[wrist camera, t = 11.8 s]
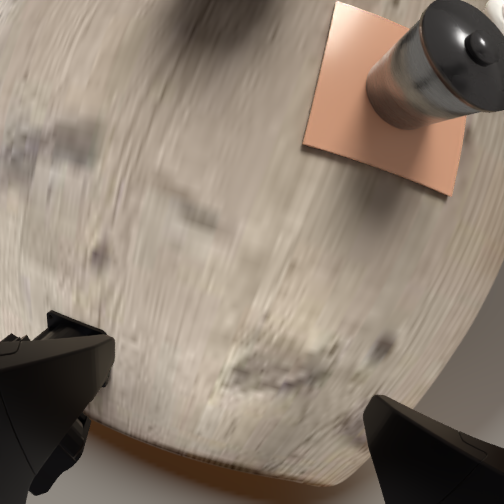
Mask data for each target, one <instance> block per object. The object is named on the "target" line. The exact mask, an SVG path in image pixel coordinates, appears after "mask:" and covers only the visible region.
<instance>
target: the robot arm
mask: <svg viewBox="0 0 504 504" xmlns="http://www.w3.org/2000/svg"><path fill="white" fill-rule="evenodd" d="M51 315H52V316H51ZM47 324H48V328H47V329H46V330H45V331H43V332H42V333H41V334H40V335H38V336H37V337H36V338H35V339H34V340H33V341H30V339H29V338H28V336H27V335H25V336H24V337H22V338H20V337H16V336H15V335H13V334H12V333H11V334H10V335H8V336H7V337H6V338H4V339H3V340H2V341H1V342H0V504H26V498H27V494H28V491H30V492H31V493H32V494H33V495H35V496H37V495H40V494H43V493H46V492H48V491H49V489H50V488H51V486H52V485H53V483H54V482H55V481H56V479H57V478H58V477H59V476H60V475H61V474H62V473H63V472H64V471H66V470H68V469H69V468H71V467H72V466H73V465H74V464H75V463H76V462H77V461H78V460H79V458H80V457H81V455H82V452H83V449H84V446H85V442H86V438H87V435H88V431H89V427H90V423H91V420H90V419H89V418H88V417H87V416H85V415H84V414H83V410H84V409H85V408H86V406H87V405H88V404H89V402H91V401H92V400H93V399H94V397H95V396H96V394H97V393H98V391H99V390H100V388H101V387H105V386H106V385H107V378H108V377H109V371H110V369H111V367H112V365H113V363H114V359H115V339H114V338H113V337H110V336H108V335H107V334H106V333H105V332H104V331H103V330H101V329H98V328H95V327H93V326H90V325H87V324H85V323H82V322H79V321H77V320H74V319H72V318H69V317H67V316H64V315H62V314H60V313H57V312H55V311H52V310H51V311H49V312H48V313H47ZM363 421H364V426H365V431H366V437H367V442H368V447H369V451H370V454H371V457H372V460H373V464H374V467H375V470H376V473H377V477H378V480H379V483H380V487H381V490H382V493H383V497H384V501H385V504H504V448H501V447H498V446H496V445H493V444H490V443H487V442H484V441H482V440H479V439H477V438H474V437H472V436H470V435H467V434H465V433H463V432H458V431H457V430H455V429H453V428H451V427H449V426H446V425H444V424H442V423H440V422H438V421H436V420H433V419H431V418H429V417H427V416H425V415H423V414H421V413H419V412H417V411H415V410H413V409H411V408H409V407H407V406H405V405H403V404H401V403H399V402H397V401H395V400H393V399H391V398H389V397H387V396H385V395H374V396H373V397H372V399H371V400H370V402H369V404H368V405H367V407H366V409H365V411H364V413H363Z"/></svg>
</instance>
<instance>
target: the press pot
mask: <svg viewBox="0 0 504 504" xmlns="http://www.w3.org/2000/svg"><path fill="white" fill-rule="evenodd" d="M366 92H367V96H368V99H369V102H370V104H371V106H372V107H373V109H374V111H375V112H376V113H377V114H378V115H379V116H380V118H381V119H383V120H384V121H385V122H387V123H388V124H390V125H391V126H393V127H396V128H399V129H403V130H413V129H417V128H421V127H424V126H428V125H432V124H435V123H439V122H443V121H446V120H450V119H454V118H458V117H462V116H466V115H470V114H474V113H478V112H488V113H491V112H497V111H502V110H504V35H503V34H502V33H501V31H500V30H499V29H498V28H497V26H496V25H495V24H494V23H493V22H492V21H491V20H490V19H489V18H488V17H487V16H486V15H485V14H484V13H482V12H481V11H480V10H478V9H477V8H475V7H474V6H472V5H470V4H468V3H466V2H464V1H461V0H436V1H434V2H433V3H432V4H430V5H429V6H428V7H427V8H426V9H425V11H424V12H423V13H422V16H421V18H420V20H419V21H418V22H417V23H416V24H415V25H414V26H413V27H412V28H411V29H410V30H409V31H408V32H407V33H406V34H405V35H404V36H403V37H402V38H401V39H400V40H399V41H398V42H397V43H396V44H395V45H394V46H393V47H392V48H391V49H390V50H389V51H388V52H387V53H386V54H385V55H384V56H383V57H382V58H381V59H380V60H379V61H378V62H377V63H376V64H375V65H374V66H373V67H372V68H371V69H370V71H369V73H368V75H367V79H366Z"/></svg>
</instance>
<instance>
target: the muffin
mask: <svg viewBox="0 0 504 504" xmlns="http://www.w3.org/2000/svg"><path fill="white" fill-rule="evenodd" d="M483 13H484V14H485V15H486V16H487V17H488V18H489V19H490V20H491V21H492V22H493V23H494V24H495V25H496V26H497V28H498V29H499V30H500V31H501V33H502V34H503V35H504V0H489V1H488V2H487V3H486V5H485V9H483Z"/></svg>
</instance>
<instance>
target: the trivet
mask: <svg viewBox="0 0 504 504" xmlns="http://www.w3.org/2000/svg"><path fill="white" fill-rule="evenodd" d="M409 30H410V29H408V28H406V27H404V26H402V25H400V24H397V23H395V22H393V21H390V20H388V19H385V18H383V17H381V16H378V15H375V14H373V13H370V12H368V11H365V10H362V9H359V8H356V7H353V6H351V5H347V4H344V3H341V2H338V1H336V3H335V6H334V11H333V15H332V20H331V24H330V29H329V33H328V37H327V42H326V46H325V51H324V55H323V59H322V64H321V68H320V72H319V76H318V81H317V85H316V89H315V93H314V98H313V102H312V106H311V110H310V114H309V118H308V122H307V126H306V130H305V134H304V138H303V142H302V144H303V145H306V146H310V147H313V148H317V149H320V150H323V151H327V152H330V153H333V154H337V155H340V156H343V157H346V158H349V159H352V160H355V161H358V162H361V163H364V164H367V165H370V166H373V167H376V168H379V169H381V170H384V171H387V172H390V173H392V174H395V175H398V176H400V177H403V178H406V179H408V180H411V181H413V182H416V183H418V184H421V185H423V186H426V187H428V188H430V189H433V190H435V191H437V192H440V193H442V194H444V195H447V196H451V197H452V193H453V188H454V184H455V179H456V175H457V170H458V165H459V160H460V154H461V149H462V143H463V136H464V130H465V122H466V116H462V117H458V118H454V119H450V120H446V121H443V122H439V123H435V124H432V125H428V126H424V127H421V128H417V129H413V130H403V129H399V128H396V127H393V126H391V125H390V124H388V123H387V122H385V121H384V120H383V119H381V118H380V116H379V115H378V114H377V113H376V112H375V111H374V109H373V107H372V106H371V104H370V102H369V99H368V96H367V92H366V79H367V75H368V73H369V71H370V69H371V68H372V67H373V66H374V65H375V64H376V63H377V62H378V61H379V60H380V59H381V58H382V57H383V56H384V55H385V54H386V53H387V52H388V51H389V50H390V49H391V48H392V47H393V46H394V45H395V44H396V43H397V42H398V41H399V40H400V39H401V38H402V37H403V36H404V35H405V34H406V33H407V32H408V31H409Z"/></svg>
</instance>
